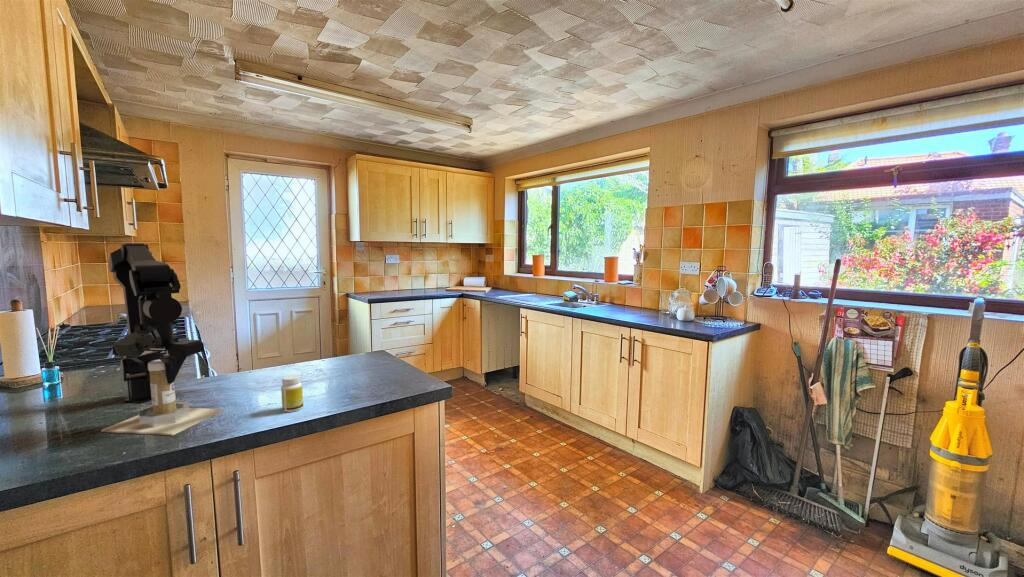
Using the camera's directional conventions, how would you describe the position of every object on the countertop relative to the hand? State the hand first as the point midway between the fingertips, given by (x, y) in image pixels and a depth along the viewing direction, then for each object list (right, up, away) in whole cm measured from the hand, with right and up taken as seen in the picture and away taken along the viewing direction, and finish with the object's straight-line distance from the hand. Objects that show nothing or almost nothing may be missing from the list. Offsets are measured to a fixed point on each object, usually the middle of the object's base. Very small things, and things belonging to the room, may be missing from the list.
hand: (162, 382), depth 100 cm
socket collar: (0, -9, +1) cm, 9 cm away
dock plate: (0, -9, +1) cm, 9 cm away
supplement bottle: (+27, -9, +8) cm, 30 cm away
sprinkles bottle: (0, -8, +1) cm, 8 cm away
